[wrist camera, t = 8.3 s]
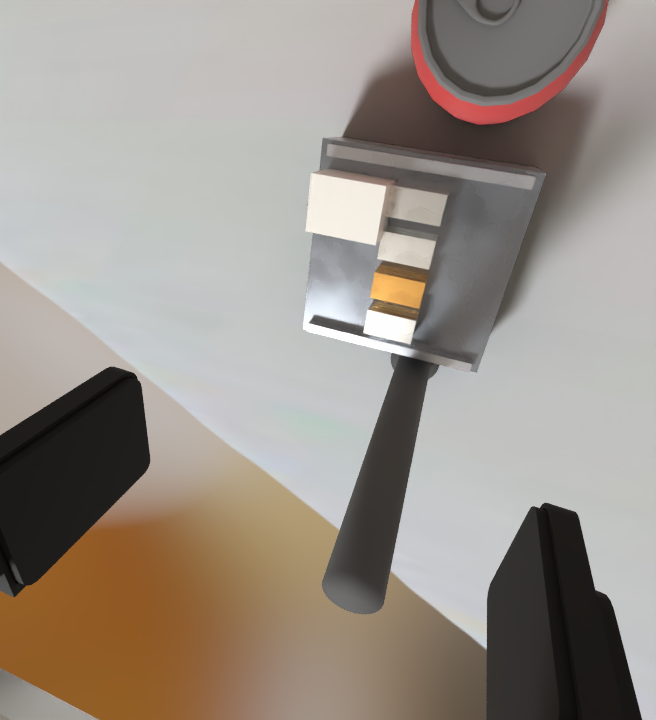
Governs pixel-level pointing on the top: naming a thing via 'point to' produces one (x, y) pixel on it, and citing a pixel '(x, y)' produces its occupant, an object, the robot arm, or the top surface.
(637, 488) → the top surface
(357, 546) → the post
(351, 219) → the white block
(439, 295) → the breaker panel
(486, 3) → the beer can
